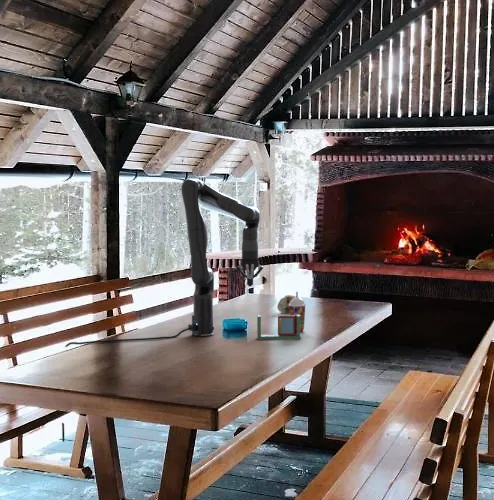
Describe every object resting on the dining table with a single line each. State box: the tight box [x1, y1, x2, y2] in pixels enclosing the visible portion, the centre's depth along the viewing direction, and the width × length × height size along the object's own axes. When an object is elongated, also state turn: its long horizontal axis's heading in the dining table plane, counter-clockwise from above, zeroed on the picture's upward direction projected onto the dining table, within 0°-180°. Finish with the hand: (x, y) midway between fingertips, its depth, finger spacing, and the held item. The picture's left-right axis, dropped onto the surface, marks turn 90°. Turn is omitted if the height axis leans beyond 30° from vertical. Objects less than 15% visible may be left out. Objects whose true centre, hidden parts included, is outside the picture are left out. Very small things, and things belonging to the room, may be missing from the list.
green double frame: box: [256, 314, 301, 341], centre depth 345 cm, size 4×20×11 cm, turn 93°
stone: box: [277, 294, 296, 314], centre depth 421 cm, size 17×12×10 cm
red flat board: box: [277, 315, 295, 335], centre depth 342 cm, size 4×8×9 cm, turn 92°
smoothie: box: [288, 291, 306, 334], centre depth 361 cm, size 8×8×20 cm
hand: (250, 286), depth 344 cm, fingers closed
